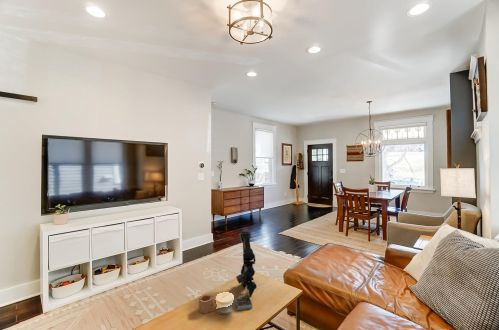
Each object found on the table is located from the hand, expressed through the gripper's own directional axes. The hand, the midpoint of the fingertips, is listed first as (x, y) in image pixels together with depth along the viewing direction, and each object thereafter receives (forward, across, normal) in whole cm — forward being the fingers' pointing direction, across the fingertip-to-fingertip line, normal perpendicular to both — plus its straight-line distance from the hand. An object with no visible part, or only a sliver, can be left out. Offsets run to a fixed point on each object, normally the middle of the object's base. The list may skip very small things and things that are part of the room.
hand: (248, 292), depth 159 cm
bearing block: (+2, +10, -6) cm, 12 cm away
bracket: (+2, +6, -25) cm, 26 cm away
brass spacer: (+2, 0, 0) cm, 2 cm away
